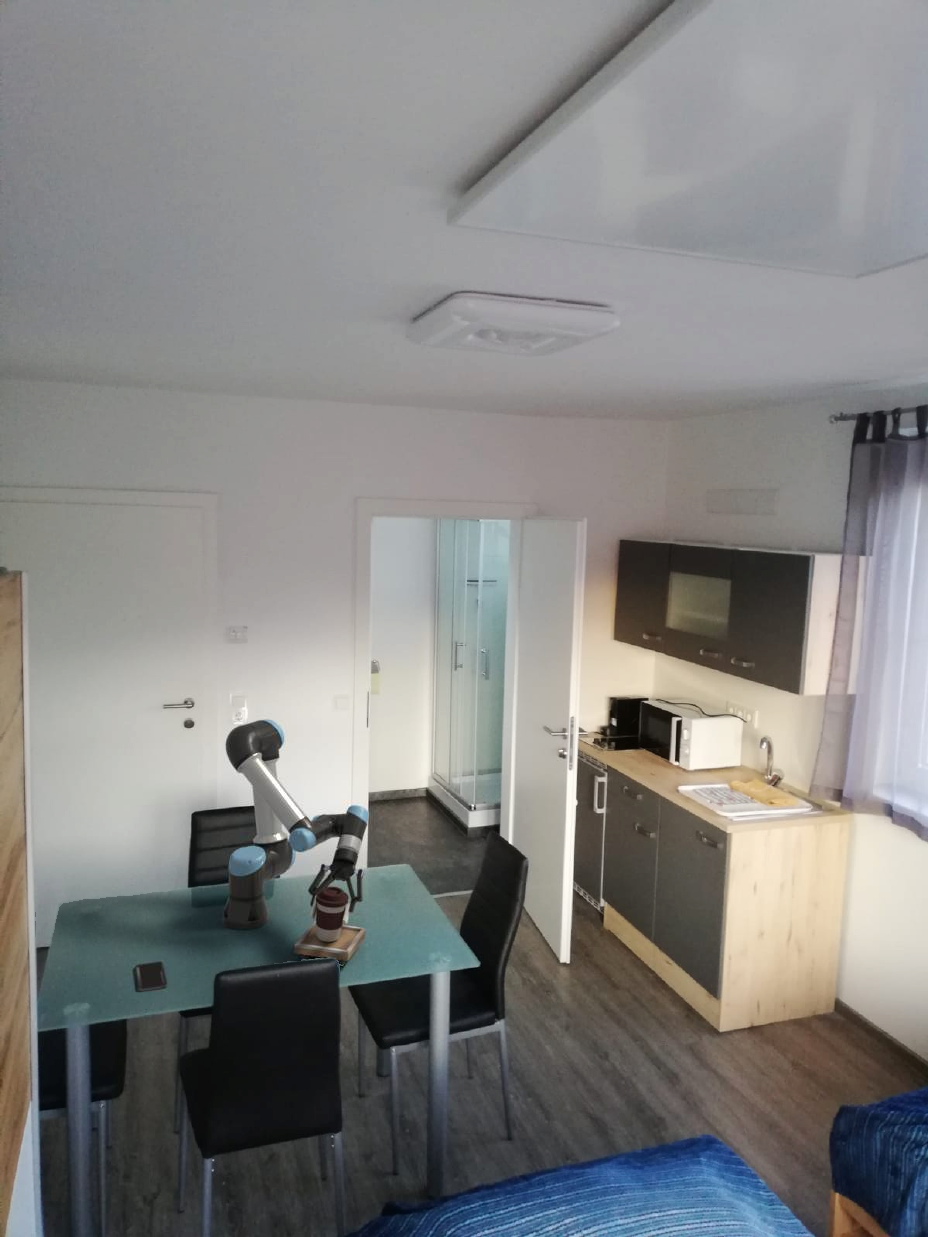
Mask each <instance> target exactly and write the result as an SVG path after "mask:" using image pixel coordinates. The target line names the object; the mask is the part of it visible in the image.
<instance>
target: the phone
mask: <svg viewBox="0 0 928 1237" xmlns="http://www.w3.org/2000/svg"><path fill="white" fill-rule="evenodd" d="M134 968H135V979H136V985H137V987H136V988H137V992H139V993H143V992H144V993H145V992H151V991H159V990H164V989H166V988H167V987H168V982H167V981H168V980H167V978H166V973H165V965H164V962H163V961H155V962H154V961H153V962H147V963H146V962H145V963H139V964H136V965H135V966H134Z"/></svg>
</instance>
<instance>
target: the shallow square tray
mask: <svg viewBox="0 0 928 1237" xmlns="http://www.w3.org/2000/svg"><path fill="white" fill-rule="evenodd" d="M366 933H367V932H366V927H361V926H360V927H359V926H353V925H348V924H342V927H341V931H340V936H339V938H338V939H337V940H336V941H332V942H325V941H321V940H319V939H318V938H317V936H316V920H315V921H313V923H312V924H311V925H309V928H307V930H306V931H305V932H304V933H303V934H302V935H301V936H300V937H299V939H298V940H297V941H296V942H295V943H294V952H293V953H294V954H299V955H300V956H301V957H300V958H301V960H302V959H307V958H309V956H310V957H311V956H312V957H319V958H324V957H332V958H336V959H335V960H337V959H338V960H337V961H338V963H339V962H340V964H341V965H343V964H344V963H345V964H346V962H349V961H350V959H351V958H352V956H353V954H354V953H355V952H356V951H357V949H358V947H359V946H360V945H361V944H362V943H363V941H364V939H365V938H366ZM307 960H308V959H307ZM345 961H346V962H345Z"/></svg>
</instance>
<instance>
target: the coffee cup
mask: <svg viewBox="0 0 928 1237" xmlns="http://www.w3.org/2000/svg"><path fill="white" fill-rule="evenodd" d="M348 900H349V895H348V893H347V892H345V891H344V889H342V888H341V887H338V886H328V887H325V888H324V889H322V890H321V891H319V892H318V893H317V894H316V902H317V909H316V914H315V921H316V936H317V938H318V939H319V940H321V941H325V942H332V941H336V940H337V939H338V938H339V936H340V931H341V927H342V925H344V921H343V918H344V914H345V910H346V906H347V903H348Z"/></svg>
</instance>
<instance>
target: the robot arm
mask: <svg viewBox="0 0 928 1237" xmlns="http://www.w3.org/2000/svg"><path fill="white" fill-rule="evenodd" d="M284 742H285V734H284V730H283V728H282V726H280V724H278V723H277V722H275V721H274V720H273V719H269V718H267V719H259V720H255V721H251V722H249V723H246V724H241V725H238V726H236V727H234V728H233V729H232V730H231V731H230V732H229V733H228V735H227V738H226V741H225V752H226V756H227V758H228V760H229V762H230V764H231V765H232V768H234V770H235V771H236V772H237V773H238V774H242V775H243V776H244V777H245V778H246V780H247V781H248V782H249V783H250V785H251V786H252V787H251V788H252V795H253V796H252V797H253V807H254V815H255V818H254V819H255V825H256V826H255V827H256V835H255V837H254V838H253V839H252V841H253V845H250V846H249V845H248V846H246V847H245V846H243V847H240V848H237V849H236V850H235V851H233V852H232V853H231V854H230V857H229V863H228V866H227V867H228V892H227V894H228V896H227V897H228V898H227V899H226V903H225V906H224V909H223V911H222V914H221V915H222V918H221V922H222V924H223V925H224V926H225V927H228V928H229V929H233V930H252V929H256V928H260V927H262V926H263V925H265V924H267V923H268V922H269V920H270V919H269V918H270V913H269V912H270V911H269V908H268V905H267V901H266V898H265V883H267V882H269V881H271V880H273V879H275V878H276V877H278V876H280V875H284V874H285V873H286V872H287V871H288V870H290V869H291V868H292V867H293V866H294V863H295V861H296V852H297V853H304V852H307V851H309V850H312V849H314V848H315V847H316V846H318V845H320V844H323V843H324V842H327V841H329V840H330V839H333V838H338V842H337V845H336V849H335V851H334V856H333V859H332V862H331V864H330V865H326V864H325V863H321V865H320V869H319V871H318V873H317V874H316V876H315V877H314V880H313V882H311V884H310V886H309V887H308V889H307V891H308V894H309V895H310V896H312V897H311V899H310V903H309V905H310V907H311V910H310V913H309V916H310V918H311V919H312V920H315V919H316V909H317V902H316V894H317V893H318V892H319V891H321V890H322V889H324V888H325V887H330V885H331V884H332V883H334V881H340V882H341V881H342V882H346V885H347V889H348V893H349V896H350V899H348V903H347V904H346V905H345V907H346V909H345V914H344V918H343V924H344V925H348V921H349V917H350V914H352V913H354V911H355V908H356V907H355V906H356V904H357V903H362V902H363V877H364V875H365V874H364V871H363V869H362V868H359V869H358V868H357V869H356V866H357V862H358V858H359V854H360V851H361V847H362V844H363V839H364V836H365V832H366V829H367V827H368V825H369V824H368V822H369V821H368V820H369V817H370V812H369V811H368V809H367V808H366V807H363V806H361V805H356V804H353V805H352V804H351V805H350V806H349V807H348V808H347V810H346V813H338V814H337V813H336V814H334V813H333V814H332V813H331V814H326V813H323V814H318V815H315V816H313V817H312V820H311V819H310V818H309V817H308V816H307V815H306V813H305V812H304V811H303V809H302V808H301V807H300V806H299V805H298V803H297V802H296V801H295V799H294V798H293V796H291V795H290V793H289V792H288V791H287V790H286V788H285V787H284V786H283V784H282V783H281V781H280V780H279V779H278V776H277V762H278V761H279V759H280V750H281V748H282V746H283V745H284ZM282 825H283V826H282ZM283 827H284V829H285V830H286V831H287V832H288V833H289V837H288V834H287V833H286V832H284V831H283ZM328 871H330V873H329V874H328V875H327V877H326V878H325V879H324V877H325V875H326V873H328ZM353 875H355V876H356V894H355V891H354V887H353V884H352V880H351V877H353ZM323 879H324V880H323ZM322 880H323V881H322Z"/></svg>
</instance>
